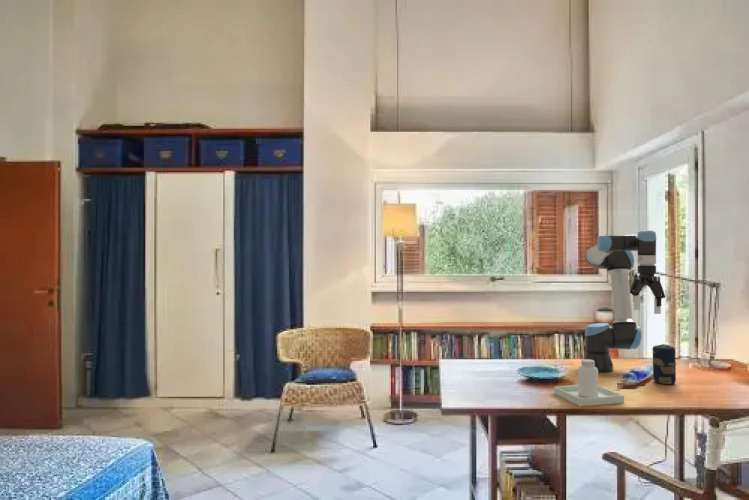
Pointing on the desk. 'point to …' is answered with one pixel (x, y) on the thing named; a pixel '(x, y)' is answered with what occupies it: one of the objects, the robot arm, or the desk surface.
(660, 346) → the canister
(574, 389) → the tray
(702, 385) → the desk surface
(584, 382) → the pill bottle
